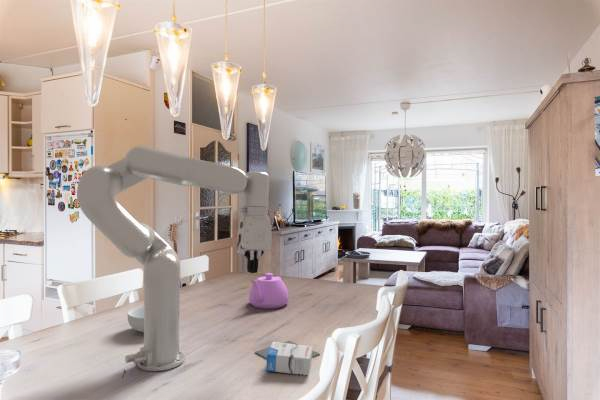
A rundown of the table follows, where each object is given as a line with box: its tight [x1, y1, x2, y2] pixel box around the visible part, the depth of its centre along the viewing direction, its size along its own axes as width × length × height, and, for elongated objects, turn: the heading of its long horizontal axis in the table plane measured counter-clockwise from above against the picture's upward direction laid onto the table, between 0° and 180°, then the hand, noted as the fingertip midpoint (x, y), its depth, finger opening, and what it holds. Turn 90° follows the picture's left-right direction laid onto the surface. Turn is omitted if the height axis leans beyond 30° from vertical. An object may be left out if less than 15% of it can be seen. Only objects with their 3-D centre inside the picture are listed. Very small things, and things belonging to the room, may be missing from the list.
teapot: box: [248, 272, 290, 310], centre depth 172 cm, size 25×18×14 cm
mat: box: [254, 340, 321, 360], centre depth 117 cm, size 14×14×1 cm
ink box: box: [265, 341, 314, 376], centre depth 108 cm, size 8×5×12 cm
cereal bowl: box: [127, 305, 144, 334], centre depth 137 cm, size 17×17×7 cm
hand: (252, 272), depth 118 cm, fingers closed
